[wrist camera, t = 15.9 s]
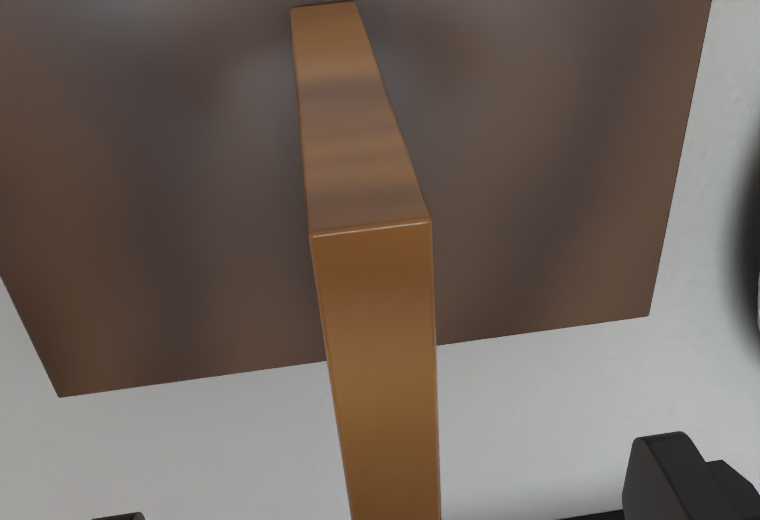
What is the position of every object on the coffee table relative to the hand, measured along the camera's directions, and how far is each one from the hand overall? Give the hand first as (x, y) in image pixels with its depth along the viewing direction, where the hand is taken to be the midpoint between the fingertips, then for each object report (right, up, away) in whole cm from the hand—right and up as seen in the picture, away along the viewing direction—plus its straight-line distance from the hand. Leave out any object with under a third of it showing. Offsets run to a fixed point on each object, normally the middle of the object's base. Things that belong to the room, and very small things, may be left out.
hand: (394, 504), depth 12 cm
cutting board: (-1, +7, +10) cm, 12 cm away
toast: (-1, +6, +8) cm, 10 cm away
